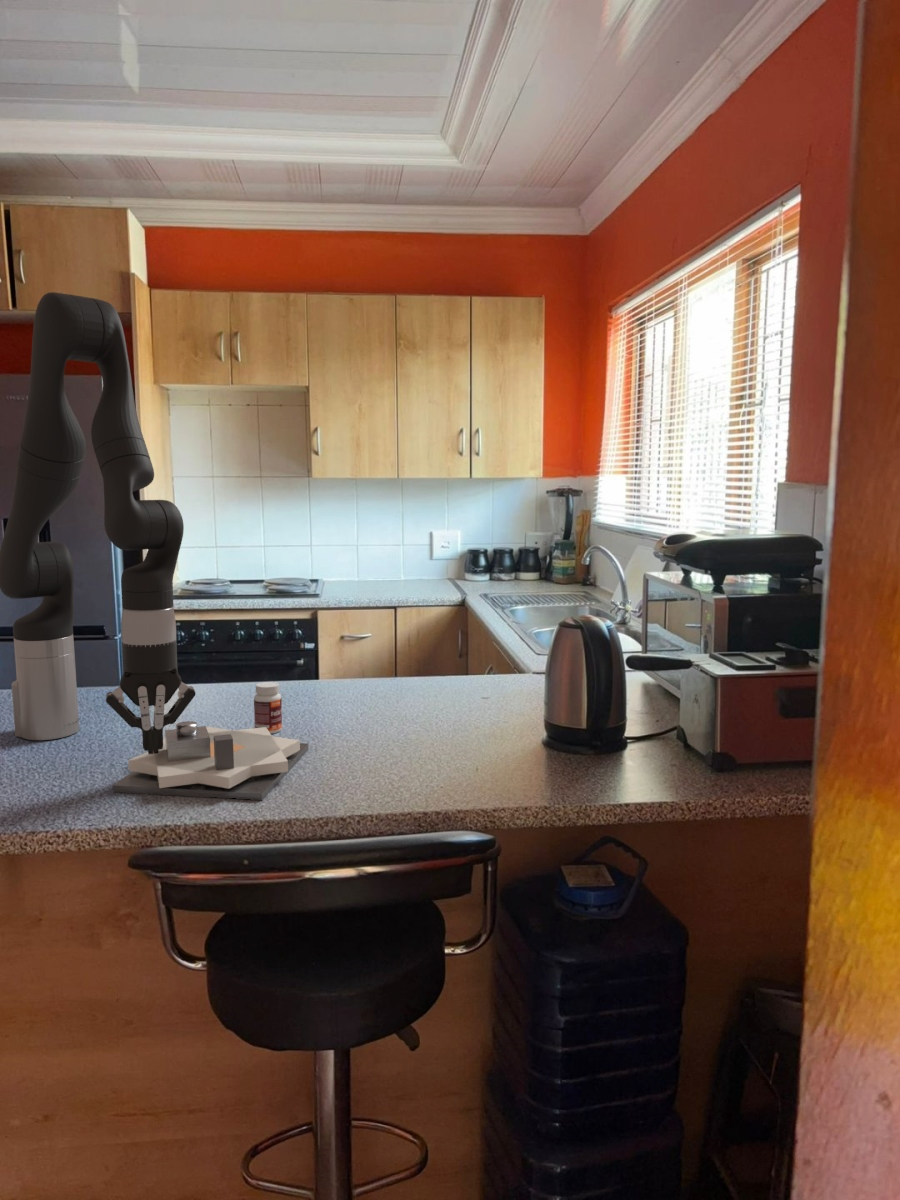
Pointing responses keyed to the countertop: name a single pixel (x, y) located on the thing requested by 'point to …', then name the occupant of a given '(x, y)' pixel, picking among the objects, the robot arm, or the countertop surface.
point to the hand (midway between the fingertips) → (153, 752)
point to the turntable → (222, 759)
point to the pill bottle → (268, 707)
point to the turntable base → (244, 790)
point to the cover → (187, 742)
